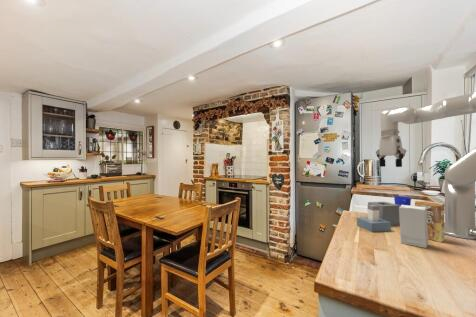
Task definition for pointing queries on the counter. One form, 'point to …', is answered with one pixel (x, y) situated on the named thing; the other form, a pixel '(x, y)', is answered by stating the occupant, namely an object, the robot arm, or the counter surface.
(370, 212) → the plug
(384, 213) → the raised socket block
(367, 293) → the counter surface
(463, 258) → the counter surface
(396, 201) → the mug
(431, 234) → the candy box
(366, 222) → the low socket block
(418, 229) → the skincare box
